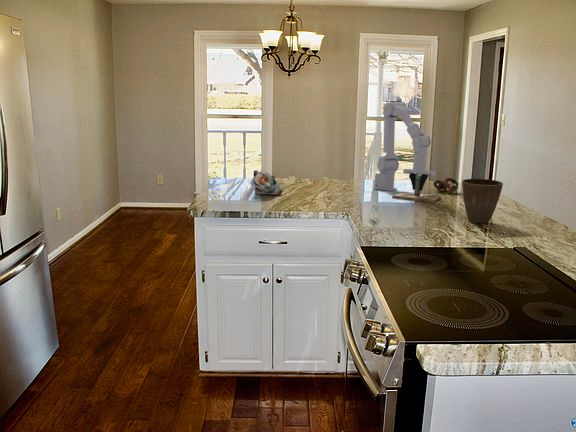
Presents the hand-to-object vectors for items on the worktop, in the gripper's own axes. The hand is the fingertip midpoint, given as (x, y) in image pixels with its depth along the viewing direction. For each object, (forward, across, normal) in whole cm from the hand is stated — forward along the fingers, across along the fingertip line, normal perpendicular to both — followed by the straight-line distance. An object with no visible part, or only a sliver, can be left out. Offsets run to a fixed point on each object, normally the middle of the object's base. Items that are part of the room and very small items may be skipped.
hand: (417, 190), depth 255 cm
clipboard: (+4, 0, 0) cm, 4 cm away
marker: (+3, 0, 0) cm, 3 cm away
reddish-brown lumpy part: (+4, +6, +25) cm, 26 cm away
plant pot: (+4, +35, -32) cm, 47 cm away
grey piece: (+4, -62, -35) cm, 71 cm away
